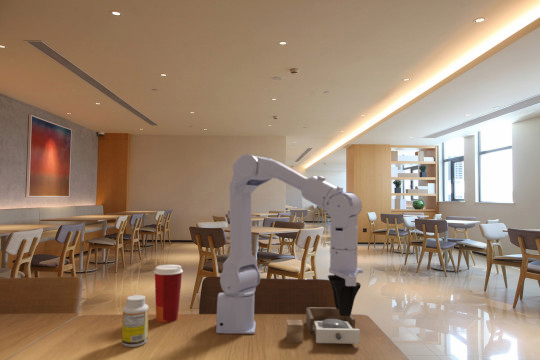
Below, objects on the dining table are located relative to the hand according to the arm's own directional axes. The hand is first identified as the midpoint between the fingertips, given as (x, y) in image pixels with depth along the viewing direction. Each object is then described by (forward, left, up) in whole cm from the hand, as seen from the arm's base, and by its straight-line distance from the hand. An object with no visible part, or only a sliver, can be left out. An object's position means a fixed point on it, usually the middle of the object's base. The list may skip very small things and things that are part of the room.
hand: (342, 312), depth 80 cm
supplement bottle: (-46, +6, -10) cm, 47 cm away
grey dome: (0, +10, -8) cm, 13 cm away
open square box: (0, +16, -9) cm, 19 cm away
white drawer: (0, +9, -8) cm, 12 cm away
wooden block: (-9, +9, -9) cm, 16 cm away
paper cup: (-43, +22, -10) cm, 49 cm away
